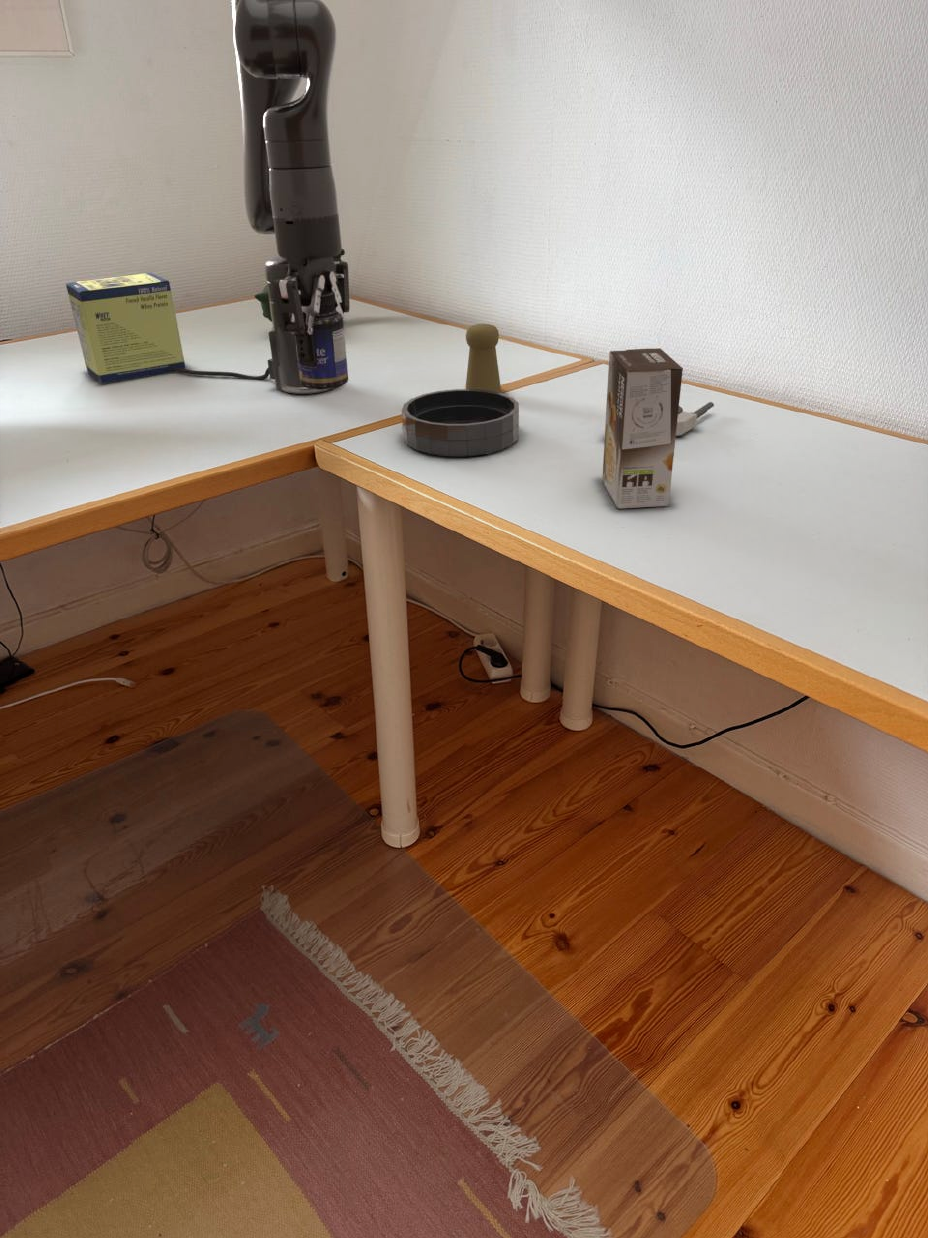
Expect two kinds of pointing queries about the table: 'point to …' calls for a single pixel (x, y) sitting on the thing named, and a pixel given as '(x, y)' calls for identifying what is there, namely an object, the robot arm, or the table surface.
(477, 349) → the olive brown knobbed cylinder
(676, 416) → the coffee box
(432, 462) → the table surface
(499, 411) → the pan
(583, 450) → the table surface
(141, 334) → the protein box
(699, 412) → the walkie-talkie
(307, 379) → the pill bottle
